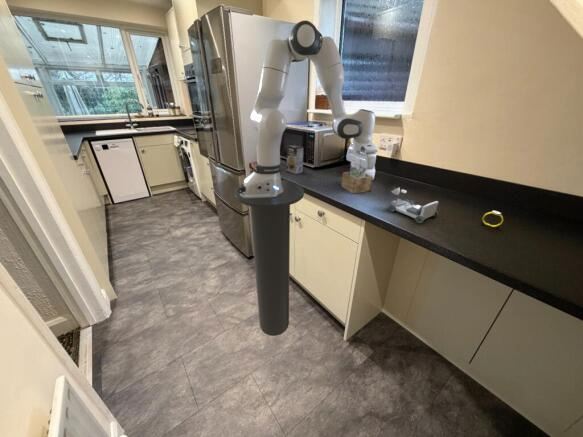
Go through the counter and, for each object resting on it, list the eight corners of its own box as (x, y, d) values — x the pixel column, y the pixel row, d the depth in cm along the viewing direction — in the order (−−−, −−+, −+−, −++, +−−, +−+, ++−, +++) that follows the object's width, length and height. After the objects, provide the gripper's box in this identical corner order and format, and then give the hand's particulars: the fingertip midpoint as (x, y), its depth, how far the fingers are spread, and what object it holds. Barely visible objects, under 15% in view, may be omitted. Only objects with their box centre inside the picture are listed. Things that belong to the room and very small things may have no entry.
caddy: (352, 193, 119) (354, 178, 115) (341, 186, 128) (342, 172, 124) (370, 191, 122) (373, 176, 118) (358, 184, 131) (360, 170, 128)
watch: (479, 224, 92) (485, 210, 89) (480, 221, 94) (486, 208, 91) (498, 229, 88) (505, 215, 85) (499, 226, 90) (506, 213, 87)
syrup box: (363, 184, 123) (368, 157, 116) (356, 186, 120) (360, 158, 113) (355, 181, 127) (359, 155, 121) (347, 183, 124) (351, 156, 118)
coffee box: (286, 170, 152) (286, 145, 145) (293, 169, 156) (293, 144, 149) (295, 174, 146) (296, 148, 139) (302, 172, 150) (303, 146, 143)
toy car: (387, 187, 99) (403, 182, 105) (382, 207, 104) (398, 202, 110) (428, 201, 86) (444, 195, 92) (421, 224, 91) (437, 217, 97)
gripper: (345, 142, 122) (342, 168, 129) (368, 150, 105) (363, 179, 112) (355, 141, 124) (351, 167, 130) (380, 149, 107) (374, 178, 113)
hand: (357, 173), depth 121 cm, fingers closed on syrup box, 6 cm apart
